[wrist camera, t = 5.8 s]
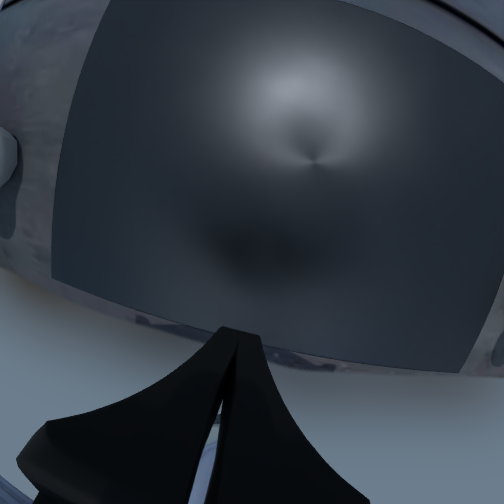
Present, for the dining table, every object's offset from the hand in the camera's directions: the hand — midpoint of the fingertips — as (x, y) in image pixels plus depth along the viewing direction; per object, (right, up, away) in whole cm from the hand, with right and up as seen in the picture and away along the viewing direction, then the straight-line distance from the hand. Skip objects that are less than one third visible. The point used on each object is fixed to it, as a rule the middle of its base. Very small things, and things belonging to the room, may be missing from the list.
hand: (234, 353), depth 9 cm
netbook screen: (+3, +7, +3) cm, 9 cm away
